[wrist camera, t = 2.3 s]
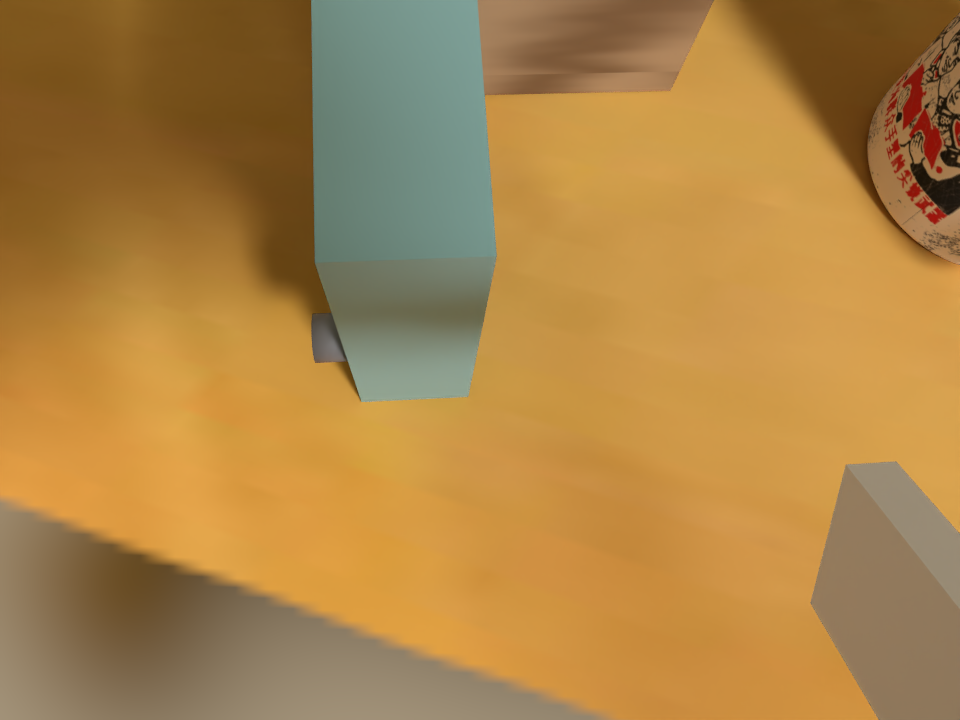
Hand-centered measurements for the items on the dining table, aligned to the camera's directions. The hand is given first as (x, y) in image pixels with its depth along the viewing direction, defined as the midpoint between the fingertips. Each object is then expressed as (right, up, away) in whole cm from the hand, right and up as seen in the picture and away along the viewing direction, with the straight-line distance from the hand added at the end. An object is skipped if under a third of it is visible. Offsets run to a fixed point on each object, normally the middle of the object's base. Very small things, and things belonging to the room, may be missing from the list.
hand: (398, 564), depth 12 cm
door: (-1, +6, +17) cm, 18 cm away
